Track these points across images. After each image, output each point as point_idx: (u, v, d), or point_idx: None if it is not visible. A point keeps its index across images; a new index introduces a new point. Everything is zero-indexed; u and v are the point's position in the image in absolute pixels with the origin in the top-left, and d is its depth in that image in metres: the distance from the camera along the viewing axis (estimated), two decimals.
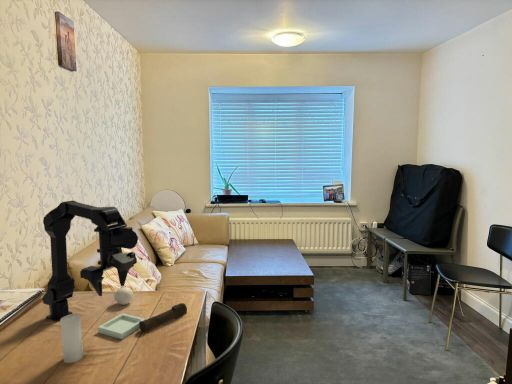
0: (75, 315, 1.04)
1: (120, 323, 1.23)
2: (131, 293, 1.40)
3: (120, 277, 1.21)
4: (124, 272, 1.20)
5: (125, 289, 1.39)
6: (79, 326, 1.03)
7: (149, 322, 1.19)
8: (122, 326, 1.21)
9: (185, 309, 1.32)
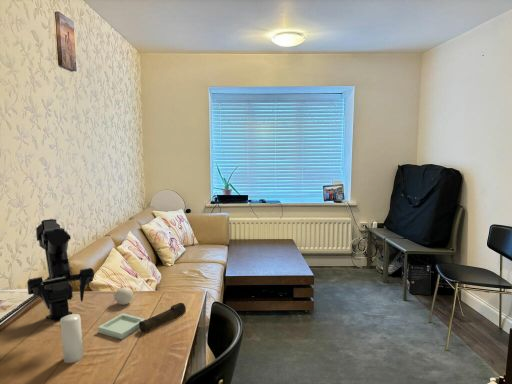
0: (75, 315, 1.04)
1: (120, 323, 1.23)
2: (131, 293, 1.40)
3: (47, 299, 1.08)
4: None
5: (125, 289, 1.39)
6: (79, 326, 1.03)
7: (149, 322, 1.19)
8: (122, 326, 1.21)
9: (184, 309, 1.32)
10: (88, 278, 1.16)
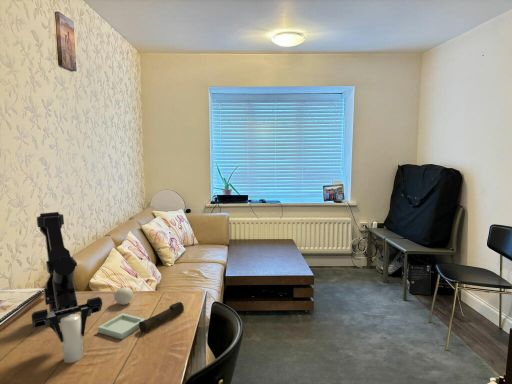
0: (75, 315, 1.04)
1: (120, 323, 1.23)
2: (131, 293, 1.40)
3: (60, 331, 1.02)
4: None
5: (125, 289, 1.39)
6: (79, 326, 1.03)
7: (149, 322, 1.19)
8: (122, 326, 1.21)
9: (182, 308, 1.33)
10: (90, 310, 1.07)
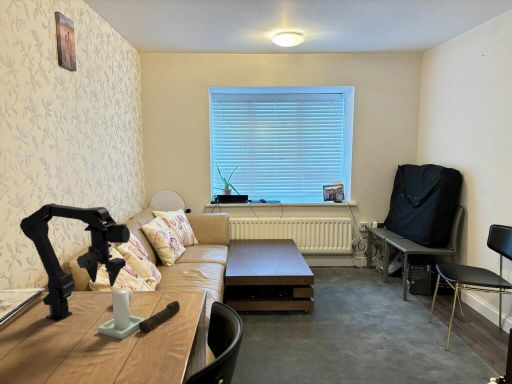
0: (121, 289, 1.21)
1: None
2: (131, 293, 1.40)
3: None
4: None
5: None
6: None
7: (150, 322, 1.19)
8: None
9: (179, 307, 1.34)
10: None
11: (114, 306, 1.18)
